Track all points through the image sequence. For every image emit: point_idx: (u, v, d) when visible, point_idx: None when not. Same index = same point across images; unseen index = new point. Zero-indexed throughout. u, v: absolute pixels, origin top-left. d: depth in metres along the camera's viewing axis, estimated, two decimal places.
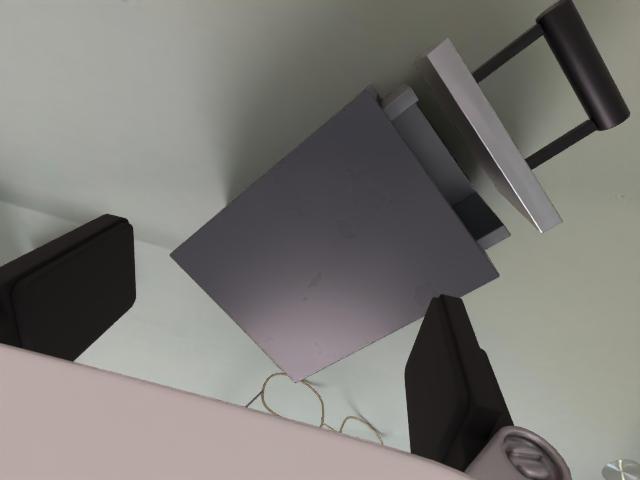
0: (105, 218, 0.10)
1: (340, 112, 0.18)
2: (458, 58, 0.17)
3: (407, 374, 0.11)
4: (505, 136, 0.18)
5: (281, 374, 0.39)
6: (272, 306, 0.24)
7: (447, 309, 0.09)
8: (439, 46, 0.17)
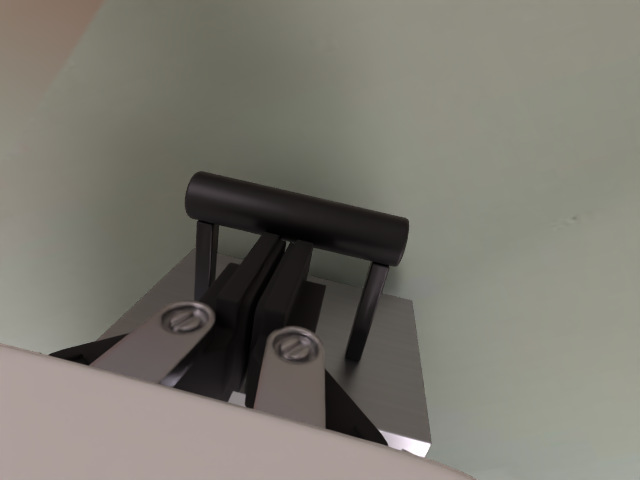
0: (267, 236, 0.11)
1: None
2: None
3: None
4: None
5: None
6: None
7: (293, 249, 0.11)
8: None
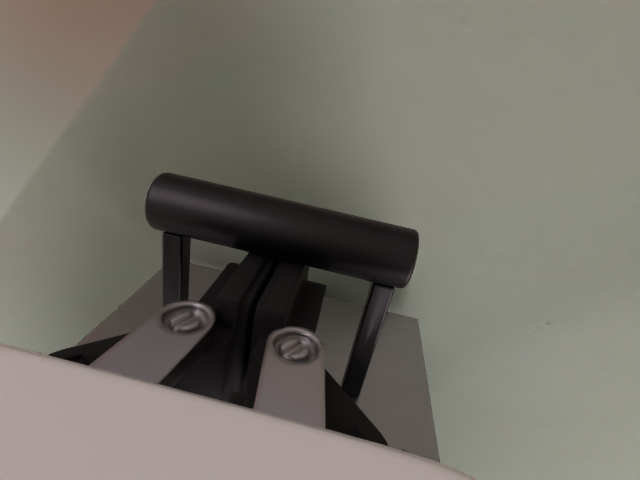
0: None
1: None
2: None
3: None
4: None
5: None
6: None
7: None
8: None
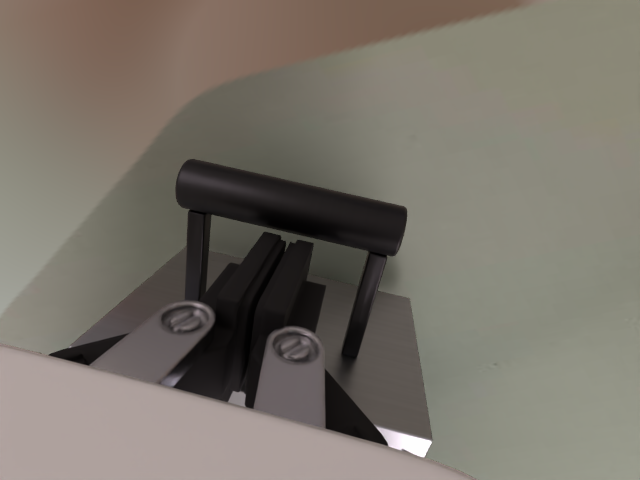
0: (267, 236, 0.11)
1: None
2: None
3: None
4: (240, 396, 0.11)
5: None
6: None
7: (293, 249, 0.11)
8: None
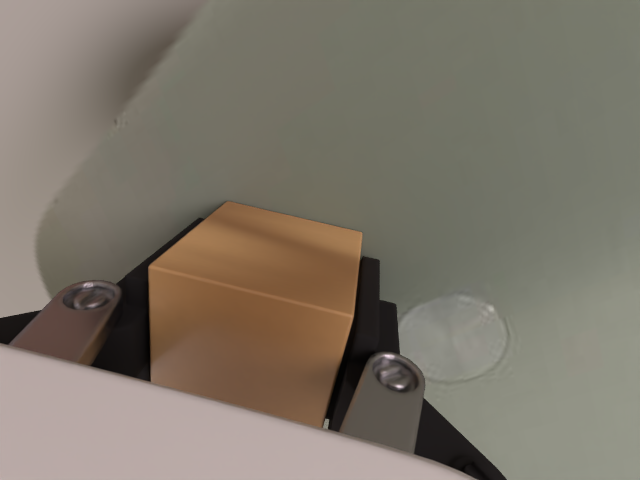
0: None
1: None
2: None
3: None
4: None
5: None
6: None
7: (362, 267, 0.11)
8: None
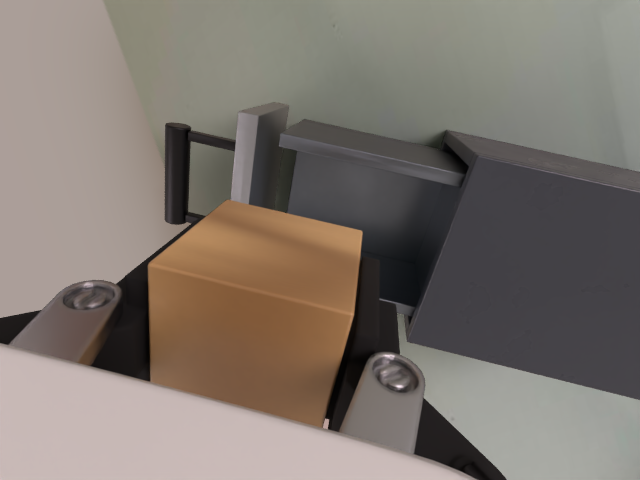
0: None
1: (431, 347, 0.24)
2: None
3: None
4: None
5: None
6: None
7: (362, 267, 0.11)
8: None
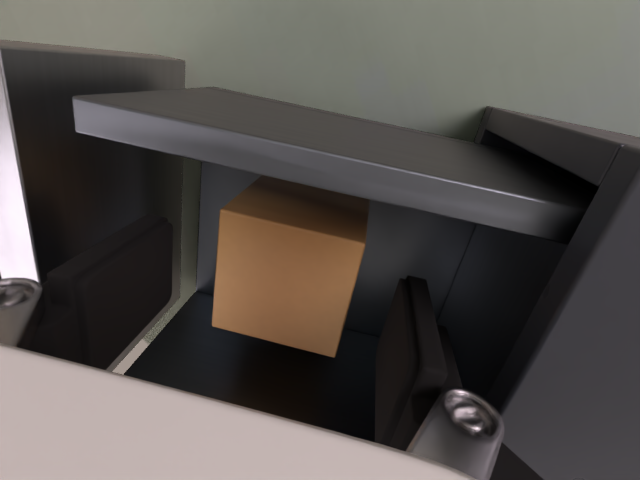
0: (148, 218, 0.11)
1: None
2: None
3: (377, 352, 0.12)
4: (5, 277, 0.10)
5: None
6: None
7: (411, 288, 0.10)
8: None
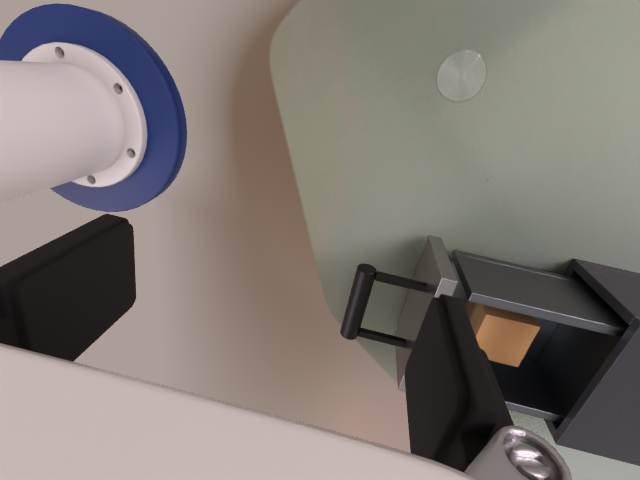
0: (105, 218, 0.10)
1: (576, 449, 0.30)
2: (402, 381, 0.31)
3: (407, 374, 0.11)
4: None
5: None
6: None
7: (447, 309, 0.09)
8: (404, 391, 0.31)
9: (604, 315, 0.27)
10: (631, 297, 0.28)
